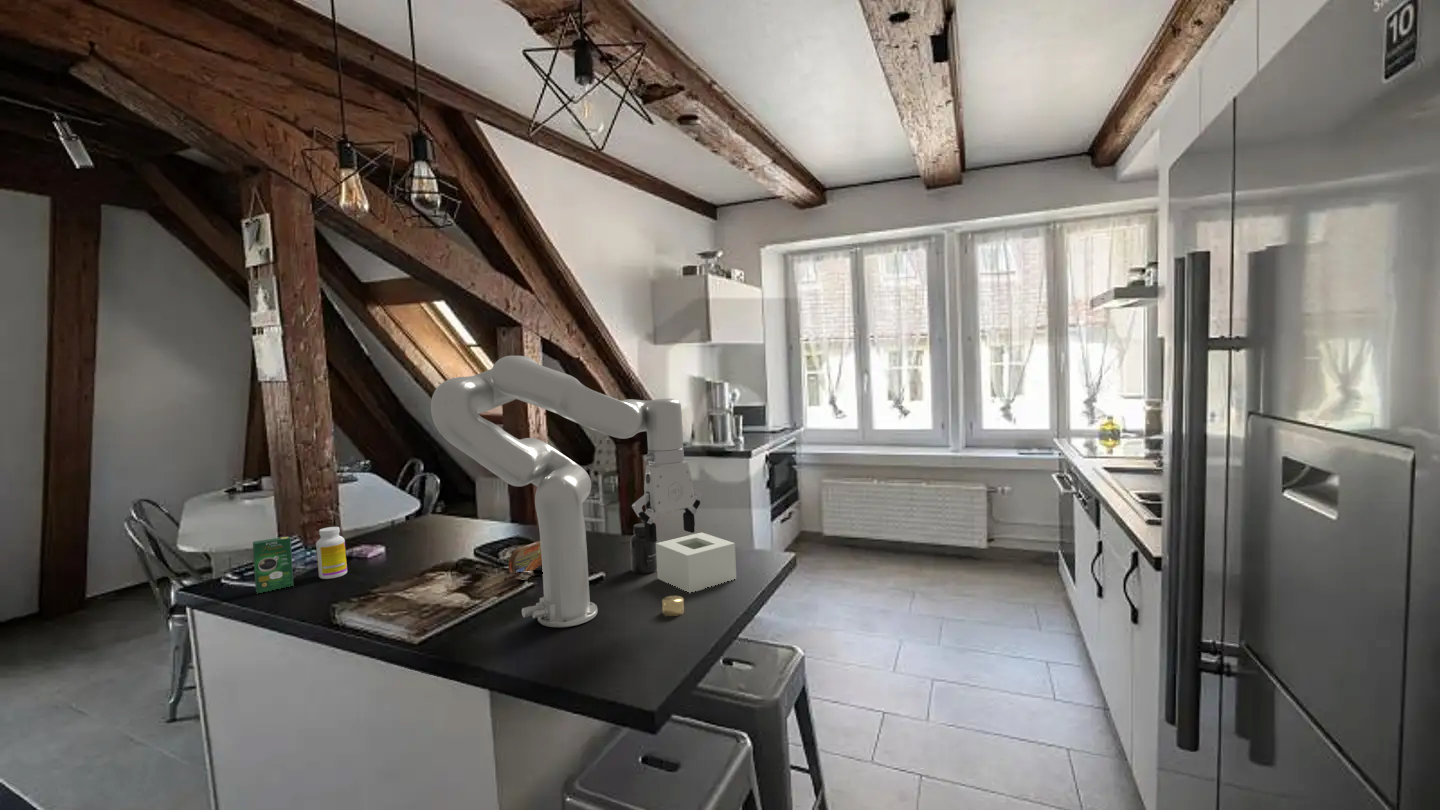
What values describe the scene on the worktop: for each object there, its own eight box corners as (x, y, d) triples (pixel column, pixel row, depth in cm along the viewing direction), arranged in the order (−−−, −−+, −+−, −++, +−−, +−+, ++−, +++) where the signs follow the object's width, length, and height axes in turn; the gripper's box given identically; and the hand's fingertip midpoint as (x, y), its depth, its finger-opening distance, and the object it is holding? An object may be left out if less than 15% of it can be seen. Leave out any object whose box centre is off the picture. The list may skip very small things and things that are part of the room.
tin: (515, 585, 161) (513, 552, 160) (507, 583, 162) (505, 550, 162) (560, 567, 173) (558, 536, 173) (552, 566, 175) (550, 535, 175)
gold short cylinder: (670, 619, 136) (669, 605, 136) (658, 612, 140) (658, 599, 139) (688, 613, 139) (687, 599, 139) (676, 607, 142) (675, 594, 142)
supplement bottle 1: (352, 573, 175) (348, 527, 174) (326, 581, 170) (322, 533, 169) (339, 570, 179) (335, 524, 178) (314, 577, 173) (309, 530, 172)
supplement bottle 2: (656, 574, 165) (653, 528, 164) (629, 575, 165) (627, 528, 164) (659, 565, 172) (657, 521, 171) (633, 566, 172) (631, 522, 171)
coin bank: (689, 593, 150) (687, 555, 150) (657, 578, 161) (655, 543, 161) (736, 579, 159) (734, 543, 158) (703, 566, 170) (701, 532, 169)
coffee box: (293, 584, 169) (289, 534, 168) (295, 586, 166) (290, 536, 165) (255, 592, 164) (251, 541, 163) (256, 595, 161) (251, 543, 160)
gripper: (640, 464, 129) (645, 548, 130) (709, 453, 139) (713, 531, 141) (621, 461, 135) (626, 541, 136) (689, 450, 145) (693, 525, 147)
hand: (670, 536), depth 138 cm, fingers open, 9 cm apart
